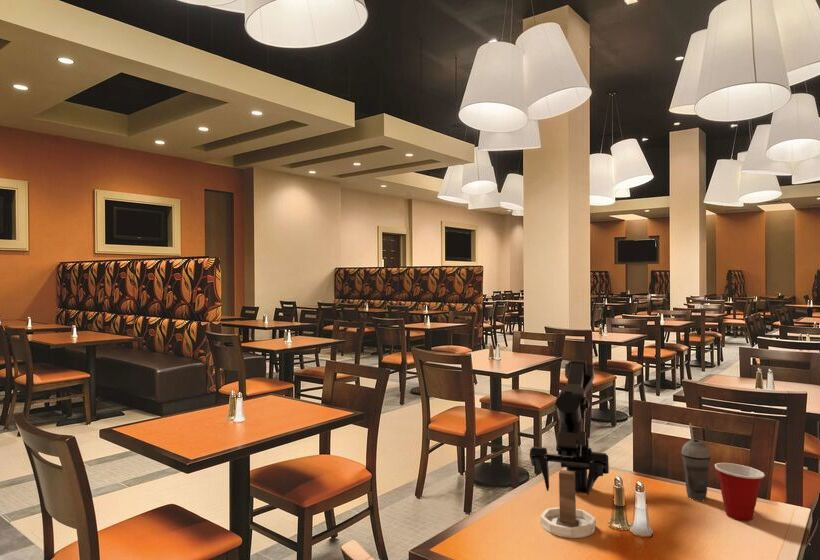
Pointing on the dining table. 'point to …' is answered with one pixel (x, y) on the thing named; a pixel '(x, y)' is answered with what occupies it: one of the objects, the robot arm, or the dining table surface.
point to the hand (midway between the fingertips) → (566, 492)
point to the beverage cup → (696, 467)
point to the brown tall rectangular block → (567, 499)
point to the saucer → (550, 526)
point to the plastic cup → (739, 489)
